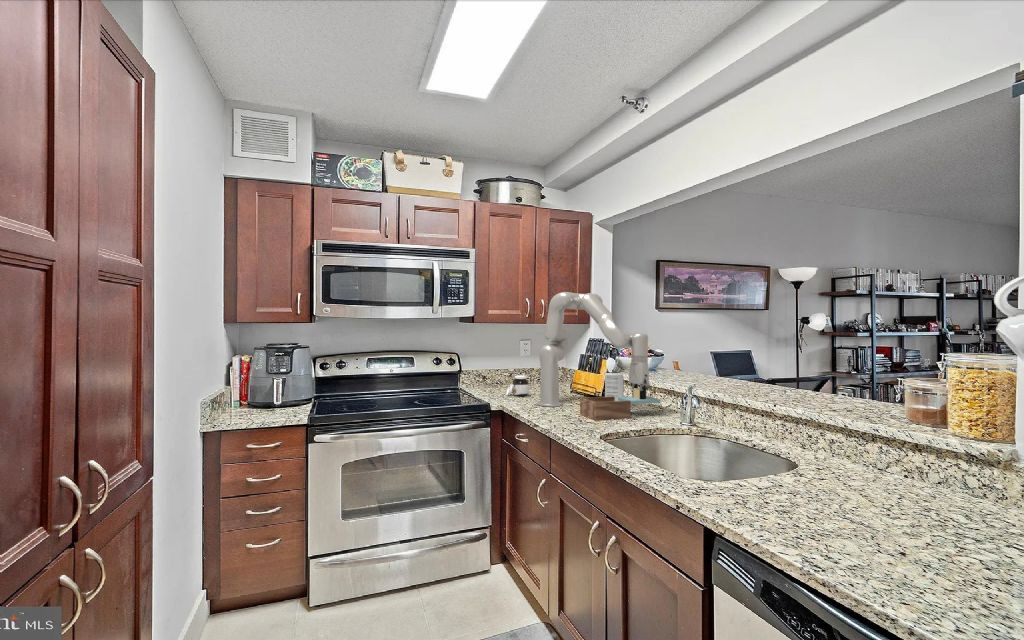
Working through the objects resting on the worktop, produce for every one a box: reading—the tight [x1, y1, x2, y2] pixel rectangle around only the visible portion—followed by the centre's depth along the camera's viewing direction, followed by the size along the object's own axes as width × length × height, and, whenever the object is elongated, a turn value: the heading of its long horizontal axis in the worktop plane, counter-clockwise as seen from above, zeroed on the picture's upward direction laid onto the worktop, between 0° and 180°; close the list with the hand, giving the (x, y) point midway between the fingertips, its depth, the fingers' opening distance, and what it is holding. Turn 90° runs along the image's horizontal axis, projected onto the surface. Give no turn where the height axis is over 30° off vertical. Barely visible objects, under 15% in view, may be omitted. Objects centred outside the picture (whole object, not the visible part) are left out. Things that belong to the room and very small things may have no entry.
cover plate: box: [618, 387, 662, 405], centre depth 224 cm, size 11×16×6 cm
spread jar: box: [506, 374, 530, 398], centre depth 278 cm, size 12×11×12 cm
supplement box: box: [604, 372, 625, 401], centre depth 245 cm, size 10×9×17 cm
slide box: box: [579, 396, 632, 422], centre depth 218 cm, size 14×18×8 cm
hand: (639, 397), depth 224 cm, fingers closed on cover plate, 5 cm apart
